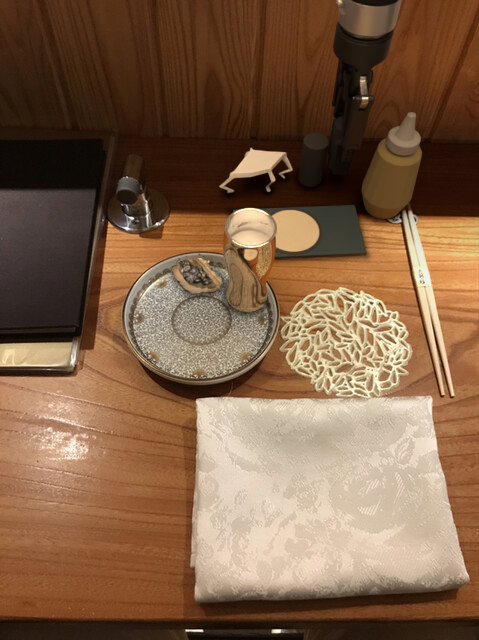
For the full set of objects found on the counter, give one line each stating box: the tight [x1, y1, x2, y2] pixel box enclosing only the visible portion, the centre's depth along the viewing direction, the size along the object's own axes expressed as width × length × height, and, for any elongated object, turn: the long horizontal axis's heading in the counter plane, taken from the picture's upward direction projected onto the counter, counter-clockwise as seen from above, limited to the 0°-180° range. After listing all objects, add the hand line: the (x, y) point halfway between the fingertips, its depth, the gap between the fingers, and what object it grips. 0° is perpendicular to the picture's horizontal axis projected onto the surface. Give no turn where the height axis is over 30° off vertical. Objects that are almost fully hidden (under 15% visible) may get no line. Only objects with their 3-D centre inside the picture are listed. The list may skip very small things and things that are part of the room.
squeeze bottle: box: [360, 111, 423, 220], centre depth 85 cm, size 8×8×18 cm
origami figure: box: [219, 147, 293, 194], centre depth 93 cm, size 12×8×5 cm
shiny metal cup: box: [222, 207, 277, 313], centre depth 76 cm, size 7×7×15 cm
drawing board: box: [232, 204, 367, 260], centre depth 89 cm, size 20×10×1 cm, turn 94°
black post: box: [297, 132, 330, 188], centre depth 92 cm, size 4×4×8 cm
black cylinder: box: [327, 116, 356, 170], centre depth 90 cm, size 4×4×8 cm
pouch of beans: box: [170, 257, 223, 295], centre depth 84 cm, size 7×8×2 cm
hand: (338, 162), depth 93 cm, fingers closed on black cylinder, 4 cm apart
